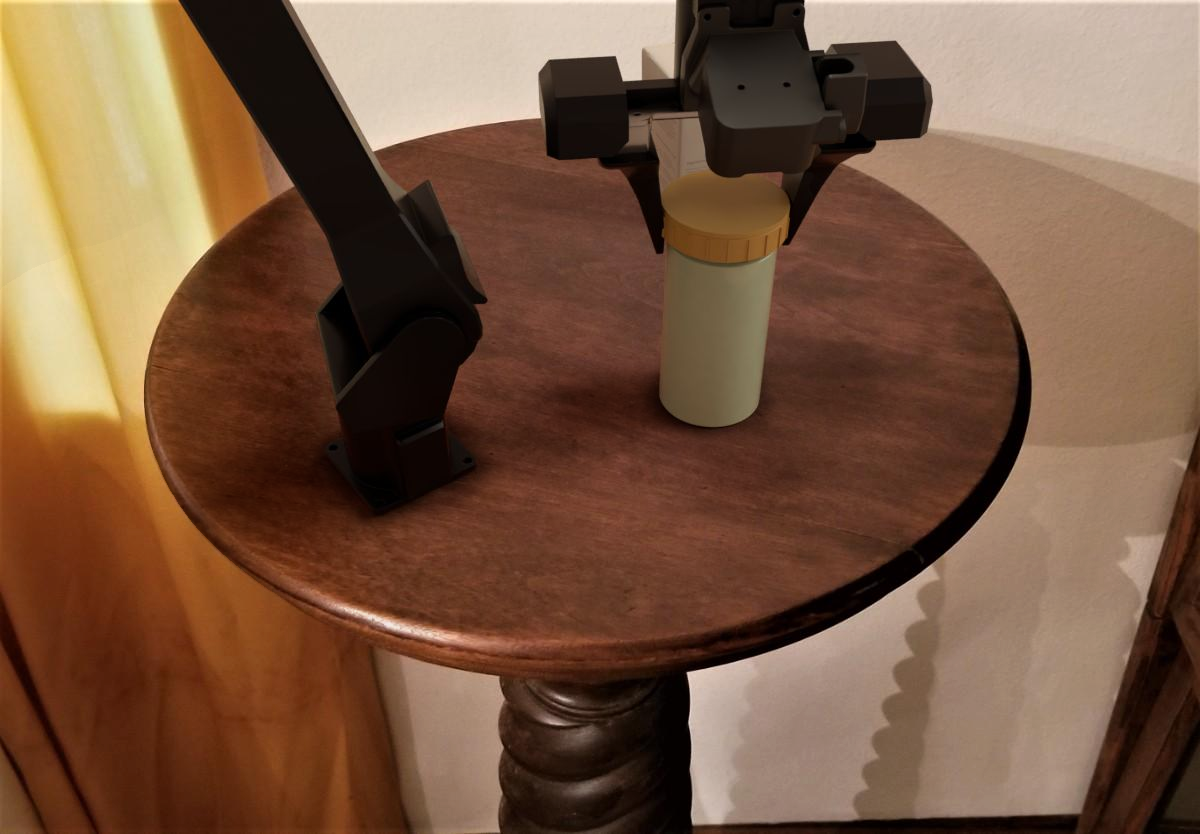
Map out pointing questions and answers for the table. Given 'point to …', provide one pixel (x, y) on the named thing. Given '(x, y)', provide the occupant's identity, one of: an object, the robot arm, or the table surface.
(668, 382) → the jar
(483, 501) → the table surface
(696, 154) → the small box
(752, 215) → the jar lid
